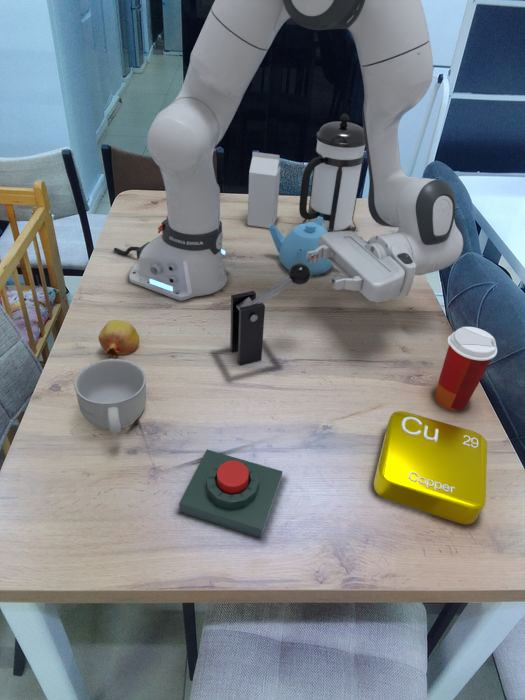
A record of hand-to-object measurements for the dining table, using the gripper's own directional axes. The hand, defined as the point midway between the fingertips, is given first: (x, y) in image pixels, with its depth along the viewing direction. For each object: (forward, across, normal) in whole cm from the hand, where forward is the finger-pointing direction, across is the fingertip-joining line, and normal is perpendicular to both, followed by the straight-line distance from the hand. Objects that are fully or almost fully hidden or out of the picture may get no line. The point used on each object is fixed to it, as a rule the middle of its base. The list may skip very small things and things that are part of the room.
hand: (320, 270), depth 90 cm
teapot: (-14, -29, +17) cm, 36 cm away
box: (+27, +27, +17) cm, 42 cm away
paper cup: (-17, +23, +17) cm, 33 cm away
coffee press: (-28, -44, +17) cm, 55 cm away
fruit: (+35, -10, +17) cm, 41 cm away
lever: (+8, 0, +4) cm, 9 cm away
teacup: (+40, +7, +17) cm, 44 cm away
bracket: (+14, 0, +17) cm, 22 cm away
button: (+27, +27, +14) cm, 41 cm away
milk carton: (-13, -53, +17) cm, 58 cm away
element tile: (-3, +34, +17) cm, 39 cm away
